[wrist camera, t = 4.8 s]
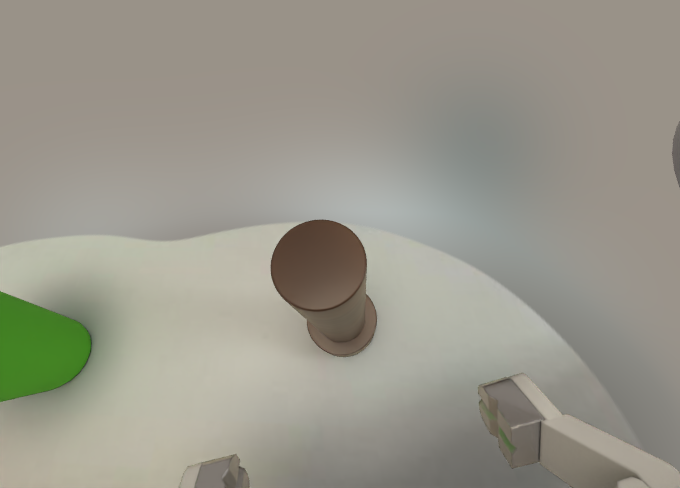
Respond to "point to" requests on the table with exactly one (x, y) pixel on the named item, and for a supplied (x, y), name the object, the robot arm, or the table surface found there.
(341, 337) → the muddler
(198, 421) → the table surface
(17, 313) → the cup
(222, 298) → the table surface
